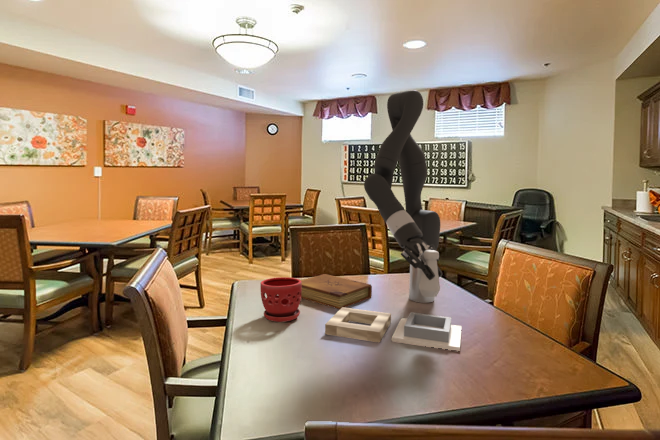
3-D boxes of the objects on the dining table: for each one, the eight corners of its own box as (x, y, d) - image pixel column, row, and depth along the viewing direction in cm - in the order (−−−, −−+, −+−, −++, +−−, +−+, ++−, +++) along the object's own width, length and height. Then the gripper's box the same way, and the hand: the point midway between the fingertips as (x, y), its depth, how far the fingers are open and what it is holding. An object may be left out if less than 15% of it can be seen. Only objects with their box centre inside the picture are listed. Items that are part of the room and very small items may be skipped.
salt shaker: (440, 299, 112) (442, 253, 111) (418, 297, 113) (421, 251, 112) (438, 293, 118) (441, 249, 116) (418, 291, 119) (420, 248, 117)
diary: (371, 299, 152) (372, 284, 152) (339, 311, 138) (340, 294, 138) (325, 286, 167) (326, 273, 167) (293, 296, 153) (293, 281, 153)
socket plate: (401, 321, 127) (401, 308, 127) (461, 329, 121) (462, 316, 121) (391, 341, 112) (392, 326, 112) (459, 351, 106) (460, 336, 106)
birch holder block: (342, 316, 132) (342, 307, 131) (390, 322, 126) (391, 313, 126) (325, 334, 117) (325, 324, 116) (379, 342, 111) (379, 332, 111)
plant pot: (308, 314, 133) (309, 278, 132) (288, 327, 122) (288, 288, 120) (275, 308, 139) (275, 273, 138) (252, 320, 127) (252, 283, 126)
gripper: (395, 222, 114) (429, 273, 106) (425, 219, 123) (459, 266, 116) (381, 238, 119) (412, 288, 111) (411, 234, 128) (442, 280, 120)
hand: (436, 277), depth 113 cm, fingers closed on salt shaker, 3 cm apart
